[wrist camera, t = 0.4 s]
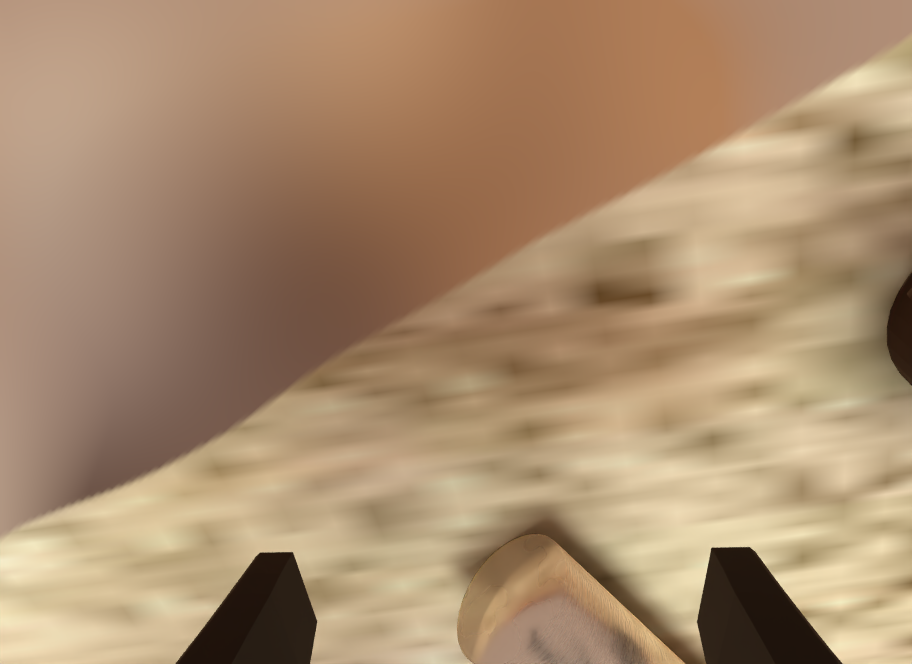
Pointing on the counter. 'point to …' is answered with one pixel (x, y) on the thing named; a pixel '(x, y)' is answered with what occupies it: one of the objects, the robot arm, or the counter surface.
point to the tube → (549, 613)
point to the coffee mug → (901, 331)
